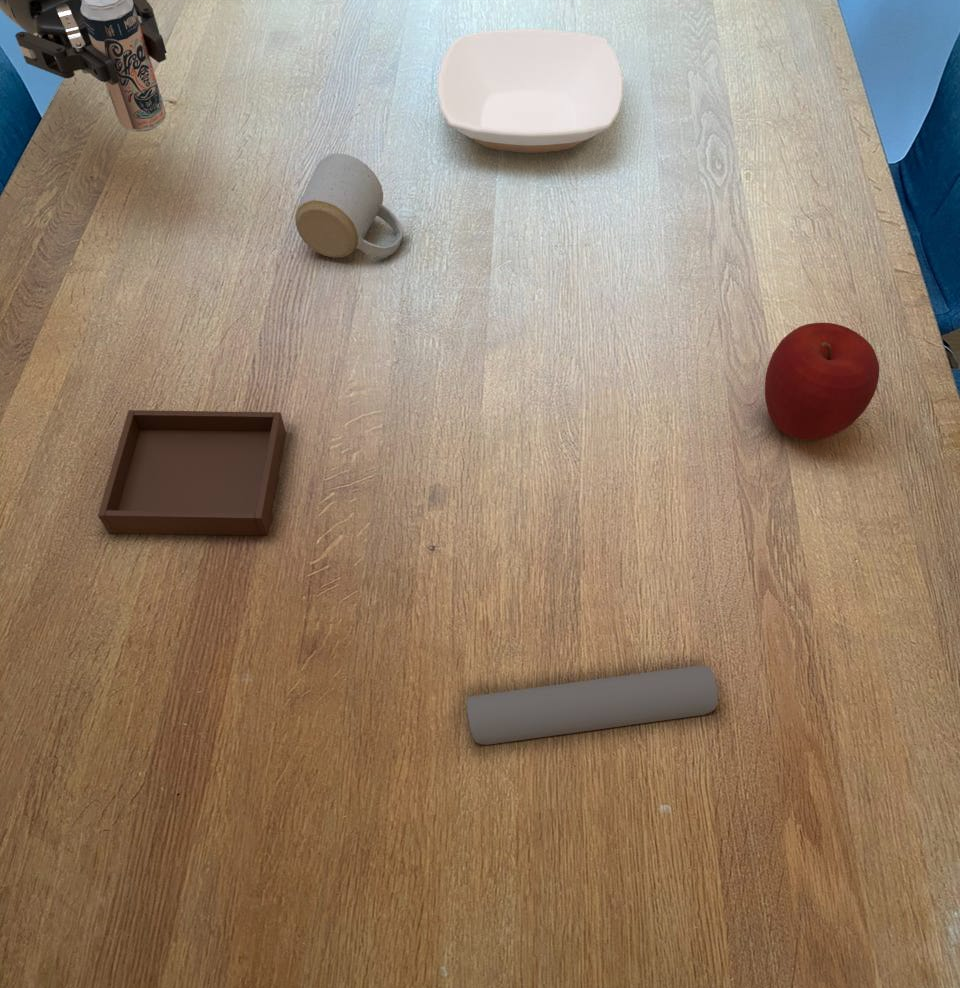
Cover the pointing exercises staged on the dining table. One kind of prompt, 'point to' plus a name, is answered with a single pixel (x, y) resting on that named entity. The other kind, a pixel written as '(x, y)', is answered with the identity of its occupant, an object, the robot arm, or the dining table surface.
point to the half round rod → (591, 704)
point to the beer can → (125, 62)
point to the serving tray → (194, 473)
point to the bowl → (530, 88)
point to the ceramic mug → (343, 209)
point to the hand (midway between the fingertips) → (136, 62)
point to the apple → (820, 380)
